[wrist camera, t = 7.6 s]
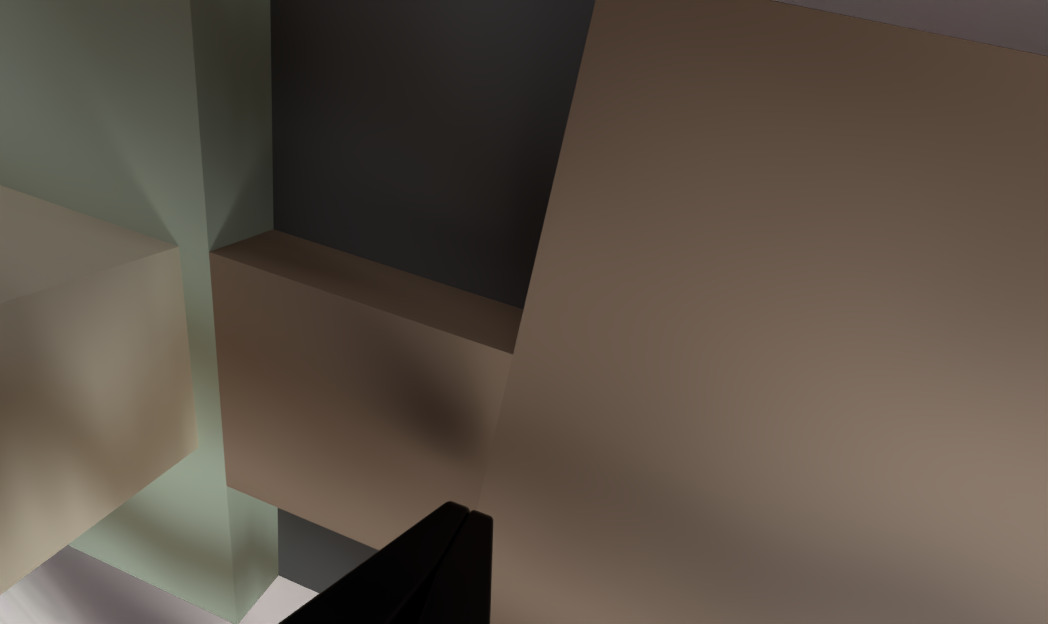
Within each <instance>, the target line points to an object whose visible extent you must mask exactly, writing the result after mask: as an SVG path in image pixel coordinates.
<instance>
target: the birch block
mask: <svg viewBox="0 0 1048 624" xmlns="http://www.w3.org/2000/svg"><path fill="white" fill-rule="evenodd" d="M198 447H199V443H198V433H197V423H196V413H195V403H194V393H193V383H192V373H191V363H190V353H189V343H188V333H187V323H186V313H185V303H184V293H183V283H182V273H181V263H180V253H179V246H176V245H173V244H170V243H167V242H164V241H161V240H159V239H156V238H153V237H150V236H147V235H144V234H141V233H138V232H135V231H132V230H129V229H126V228H124V227H121V226H118V225H115V224H112V223H109V222H106V221H103V220H100V219H97V218H94V217H92V216H89V215H86V214H83V213H80V212H77V211H74V210H71V209H68V208H65V207H62V206H60V205H57V204H54V203H51V202H48V201H45V200H42V199H39V198H36V197H33V196H30V195H27V194H25V193H22V192H19V191H16V190H13V189H10V188H7V187H4V186H1V185H0V595H1V594H2V593H4V592H5V591H6V590H8V589H9V588H10V587H12V586H13V585H14V584H16V583H17V582H18V581H20V580H21V579H22V578H24V577H25V576H26V575H28V574H29V573H30V572H32V571H33V570H35V569H36V568H37V567H39V566H40V565H41V564H43V563H44V562H45V561H47V560H48V559H49V558H51V557H52V556H53V555H55V554H56V553H57V552H59V551H60V550H61V549H63V548H64V547H65V546H67V545H68V544H69V543H71V542H72V541H73V540H75V539H76V538H77V537H79V536H80V535H82V534H83V533H84V532H86V531H87V530H88V529H90V528H91V527H92V526H94V525H95V524H96V523H98V522H99V521H100V520H102V519H103V518H104V517H106V516H107V515H108V514H110V513H111V512H112V511H114V510H115V509H116V508H118V507H119V506H120V505H122V504H123V503H124V502H126V501H127V500H129V499H130V498H131V497H133V496H134V495H135V494H137V493H138V492H139V491H141V490H142V489H143V488H145V487H146V486H147V485H149V484H150V483H151V482H153V481H154V480H155V479H157V478H158V477H159V476H161V475H162V474H163V473H165V472H166V471H167V470H169V469H170V468H171V467H173V466H174V465H176V464H177V463H178V462H180V461H181V460H182V459H184V458H185V457H186V456H188V455H189V454H190V453H192V452H193V451H194V450H196V449H197V448H198Z"/></svg>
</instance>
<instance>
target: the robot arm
mask: <svg viewBox="0 0 1048 624" xmlns="http://www.w3.org/2000/svg"><path fill="white" fill-rule="evenodd" d="M492 554H493V518H492V516H490V515H487V514H485V513H482V512H479V511H477V510H472V511H470V509H469V508H468V507H466V506H464V505H461V504H458V503H456V502H453V501H447V502H445V503H444V504H443V505H441V506H440V507H438V508H437V509H436V510H434V511H433V512H432V513H430V514H429V515H427V516H426V517H425V518H423V519H422V520H420V521H419V522H418V523H416V524H415V525H414V526H412V527H411V528H409V529H408V530H407V531H405V532H404V533H403V534H401V535H400V536H398V537H397V538H396V539H394V540H393V541H391V542H390V543H389V544H387V545H386V546H385V547H383V548H382V549H380V550H379V551H378V552H376V553H375V554H374V555H372V556H371V557H369V558H368V559H367V560H365V561H364V562H363V563H361V564H360V565H358V566H357V567H356V568H354V569H353V570H351V571H350V572H349V573H347V574H346V575H345V576H343V577H342V578H340V579H339V580H338V581H336V582H335V583H334V584H332V585H331V586H329V587H328V588H327V589H325V590H324V591H323V592H321V593H320V594H318V595H317V596H316V597H314V598H313V599H311V600H310V601H309V602H307V603H306V604H305V605H303V606H302V607H300V608H299V609H298V610H296V611H295V612H294V613H292V614H291V615H289V616H288V617H287V618H285V619H284V620H283V621H281V622H280V623H278V624H490V617H491V586H492Z"/></svg>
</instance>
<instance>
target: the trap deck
mask: <svg viewBox="0 0 1048 624" xmlns="http://www.w3.org/2000/svg"><path fill="white" fill-rule="evenodd" d="M0 185H1V186H4V187H7V188H10V189H13V190H16V191H19V192H22V193H25V194H27V195H30V196H33V197H36V198H39V199H42V200H45V201H48V202H51V203H54V204H57V205H60V206H62V207H65V208H68V209H71V210H74V211H77V212H80V213H83V214H86V215H89V216H92V217H94V218H97V219H100V220H103V221H106V222H109V223H112V224H115V225H118V226H121V227H124V228H126V229H129V230H132V231H135V232H138V233H141V234H144V235H147V236H150V237H153V238H156V239H159V240H161V241H164V242H167V243H170V244H173V245H176V246H179V253H180V263H181V273H182V283H183V293H184V303H185V313H186V323H187V333H188V343H189V353H190V363H191V373H192V383H193V393H194V403H195V413H196V423H197V433H198V443H199V447H198V448H197V449H196V450H194V451H193V452H192V453H190V454H189V455H188V456H186V457H185V458H184V459H182V460H181V461H180V462H178V463H177V464H176V465H174V466H173V467H171V468H170V469H169V470H167V471H166V472H165V473H163V474H162V475H161V476H159V477H158V478H157V479H155V480H154V481H153V482H151V483H150V484H149V485H147V486H146V487H145V488H143V489H142V490H141V491H139V492H138V493H137V494H135V495H134V496H133V497H131V498H130V499H129V500H127V501H126V502H124V503H123V504H122V505H120V506H119V507H118V508H116V509H115V510H114V511H112V512H111V513H110V514H108V515H107V516H106V517H104V518H103V519H102V520H100V521H99V522H98V523H96V524H95V525H94V526H92V527H91V528H90V529H88V530H87V531H86V532H84V533H83V534H82V535H80V536H79V537H77V538H76V539H75V540H73V541H72V542H71V543H69V544H68V545H69V546H70V547H72V548H74V549H77V550H79V551H81V552H83V553H85V554H87V555H89V556H91V557H94V558H96V559H98V560H100V561H102V562H104V563H106V564H108V565H111V566H113V567H115V568H117V569H119V570H121V571H123V572H125V573H128V574H130V575H132V576H134V577H136V578H138V579H140V580H142V581H145V582H147V583H149V584H151V585H153V586H155V587H157V588H159V589H161V590H164V591H166V592H168V593H170V594H172V595H174V596H176V597H178V598H181V599H183V600H185V601H187V602H189V603H191V604H193V605H195V606H198V607H200V608H202V609H204V610H206V611H208V612H210V613H212V614H215V615H217V616H219V617H221V618H223V619H225V620H227V621H229V622H231V623H234V624H238V623H239V622H240V621H241V620H242V618H243V617H244V616H245V615H246V614H247V612H248V611H249V610H250V609H251V608H252V606H253V605H254V604H255V603H256V602H257V600H258V599H259V598H260V597H261V596H262V594H263V593H264V592H265V591H266V590H267V588H268V587H269V586H270V585H271V584H272V582H273V581H274V580H275V579H276V578H277V576H278V575H279V576H282V577H284V578H286V579H288V580H291V581H293V582H295V583H297V584H300V585H302V586H304V587H306V588H309V589H311V590H313V591H315V592H318V593H321V592H323V591H324V590H325V589H327V588H328V587H329V586H331V585H332V584H334V583H335V582H336V581H338V580H339V579H340V578H342V577H343V576H345V575H346V574H347V573H349V572H350V571H351V570H353V569H354V568H356V567H357V566H358V565H360V564H361V563H363V562H364V561H365V560H367V559H368V558H369V557H371V556H372V555H374V554H375V553H376V552H378V551H379V550H380V549H382V548H383V547H385V546H386V545H387V544H389V543H390V542H391V541H393V540H394V539H396V538H397V537H398V536H400V535H401V534H403V533H404V532H405V531H407V530H408V529H409V528H411V527H412V526H414V525H415V524H416V523H418V522H419V521H420V520H422V519H423V518H425V517H426V516H427V515H429V514H430V513H432V512H433V511H434V510H436V509H437V508H438V507H440V506H441V505H443V504H444V503H445V502H447V501H453V502H456V503H458V504H461V505H464V506H466V507H468V508H469V509H470V511H472V510H477V511H479V512H482V513H485V514H487V515H490V516H492V518H493V554H492V586H491V617H490V624H1048V56H1044V55H1039V54H1034V53H1029V52H1024V51H1019V50H1014V49H1009V48H1004V47H999V46H994V45H990V44H985V43H980V42H975V41H970V40H965V39H960V38H955V37H950V36H945V35H940V34H935V33H930V32H925V31H920V30H915V29H910V28H905V27H900V26H896V25H891V24H886V23H881V22H876V21H871V20H866V19H861V18H856V17H851V16H846V15H841V14H836V13H831V12H826V11H821V10H816V9H811V8H806V7H801V6H797V5H792V4H787V3H782V2H777V1H772V0H0Z"/></svg>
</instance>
